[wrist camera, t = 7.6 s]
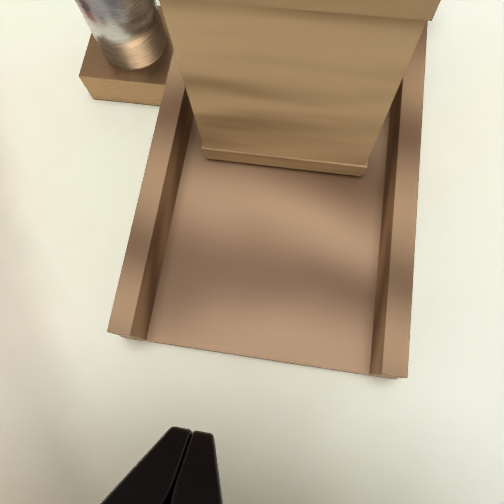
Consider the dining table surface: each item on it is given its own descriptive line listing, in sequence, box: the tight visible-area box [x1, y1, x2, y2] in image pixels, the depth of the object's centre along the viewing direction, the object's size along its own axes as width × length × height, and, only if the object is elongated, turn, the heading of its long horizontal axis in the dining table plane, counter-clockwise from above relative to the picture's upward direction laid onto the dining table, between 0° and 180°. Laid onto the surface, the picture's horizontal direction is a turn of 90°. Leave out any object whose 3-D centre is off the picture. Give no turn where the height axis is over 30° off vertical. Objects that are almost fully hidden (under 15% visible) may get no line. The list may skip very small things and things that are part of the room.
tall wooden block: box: [159, 0, 440, 176], centre depth 19 cm, size 8×8×11 cm
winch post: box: [75, 0, 174, 106], centre depth 23 cm, size 6×5×8 cm
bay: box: [107, 20, 428, 379], centre depth 21 cm, size 20×13×7 cm, turn 171°
